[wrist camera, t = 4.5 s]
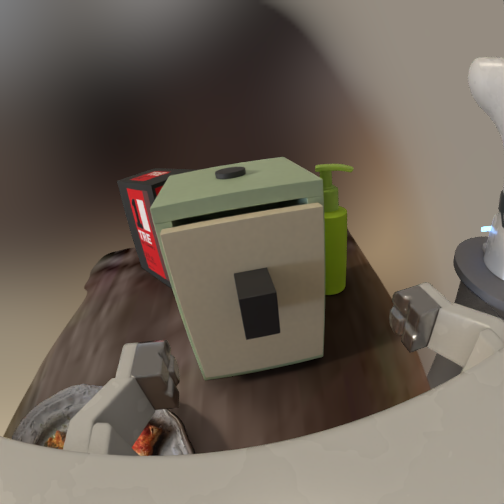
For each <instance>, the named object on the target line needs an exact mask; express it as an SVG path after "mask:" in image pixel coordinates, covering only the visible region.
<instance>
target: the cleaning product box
mask: <svg viewBox="0 0 504 504" xmlns="http://www.w3.org/2000/svg"><path fill="white" fill-rule="evenodd" d="M191 171H197V170H186V169H152V170H149V171H146V172H143V173H140V174H137V175H134V176H131V177H128V178H125V179H122V180H120V181H117V182H118V186H119V190H120V194H121V198H122V202H123V206H124V209H125V213H126V217H127V220H128V224H129V227H130V231H131V234H132V237H133V241H134V244H135V248H136V251H137V254H138V257H139V260H140V263H141V266H142V268H143V269H145V270H146V271H147V272H149V273H150V274H152V275H153V276H154V277H156V278H157V279H159V280H160V281H162V282H163V283H165V284H166V285H168V286H169V287H170V288H172V286H171V283H170V279H169V276H168V273H167V269H166V266H165V263H164V259H163V256H162V252H161V249H160V245H159V242H158V238H157V234H156V230H155V227H154V223H153V219H152V215H151V211H150V208H151V206H152V204H153V202H154V201H155V199H156V197H157V196H158V194H159V192H160V191H161V189H162V187H163V186H164V184H165V182H166V181H167V179H168V177H169V176H172V175H176V174H181V173H186V172H191Z"/></svg>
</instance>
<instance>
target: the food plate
mask: <svg viewBox="0 0 504 504" xmlns="http://www.w3.org/2000/svg"><path fill="white" fill-rule="evenodd" d="M102 388H103V387H102V386H94V385H92V386H90V385H87V384H82V385H76V386H72V387H69V388H67V389H65V390H62V391H60V392H58V393H57V394H55V395H53V396H51V397H50V398H48V399H46V400H44V401H43V402H41V403H40V404H38V405H37V406H35V407H34V408H33V409H32V411H30V412H29V413H28V414H27V416H26V417H25V418H24V419H23V420H22V421H21V423H20V424H19V426H18V428H16V430H15V432H14V435H13V436H12V439H13V440H16V441H21V442H25V443H29V444H34V445H39V446H44V447H50V448H55V449H62V450H63V447H64V443H65V439H66V434H67V431H68V427H69V423H70V420H71V419H72V418H73V417H74V416H75V415H76V414H77V413H78V412H79V411H80V410H81V409H82V408H83V407H84V406H85V405H86V404H87V403H88V402H89V401H90V400H91V399H92V398H93V397H94V396H95V395H96V394H97V393H98V392H99V391H100V390H101V389H102ZM155 411H156V412H155V413H154V415H153V416H152V418H151V419H150V421H149V422H148V424H147V425H146V427H145V428H144V430H143V431H142V433H141V434H140V436H139V437H138V439H137V440H136V442H135V443H134V445H133V446H132V449H133V450H134V451H135V452H136V453H137V454H138V455H140V456H168V455H188V454H195V452H194V449H193V447H192V445H191V444H190V443H191V442H190V441H189V439H188V436H187V433H186V431H185V427H184V425H183V423H182V421H181V420H180V419H179V417H178V416H176V415H175V414H174V413H172V412H169V411H170V410H168V409H162V410H155Z"/></svg>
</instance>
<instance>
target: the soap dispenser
mask: <svg viewBox="0 0 504 504" xmlns="http://www.w3.org/2000/svg"><path fill="white" fill-rule="evenodd" d="M337 170H338V171H347V172H352V171H353V167H351V166H348V165H343V164H323V165H316V167H315V172H320V178H321V179H323V194H324V195H323V196H324V220H325V295H334V294H337V293H340V292H341V291H343V290H344V288H345V283H346V257H347V210H346V209H345V208H343V207H340V206H339V204H338V188H337V187H336V186H334V185H332V173H331V171H337Z"/></svg>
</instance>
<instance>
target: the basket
mask: <svg viewBox="0 0 504 504" xmlns="http://www.w3.org/2000/svg"><path fill="white" fill-rule="evenodd" d="M160 237H161V241H162V244H163V248H164V252H165V255H166V259H167V262H168V266H169V269H170V273H171V276H172V279H173V283H174V286H175V289H176V292H177V296H178V299H179V302H180V305H181V308H182V311H183V314H184V317H185V320H186V323H187V326H188V329H189V332H190V335H191V338H192V341H193V344H194V346H195V349H196V352H197V355H198V357H199V360H200V363H201V366H202V368H203V371H204V374H205V376H206V378H208V377H215V376H222V375H228V374H234V373H240V372H245V371H251V370H256V369H261V368H266V367H271V366H276V365H280V364H285V363H289V362H294V361H298V360H302V359H306V358H310V357H314V356H318V355H322V353H323V329H324V222H323V206H322V205H321V204H320V203H318V202H317V203H310V204H304V205H297V206H291V207H284V208H278V209H272V210H266V211H259V212H254V213H248V214H242V215H236V216H230V217H225V218H219V219H214V220H208V221H203V222H197V223H192V224H187V225H182V226H176V227H171V228H166V229H162V230H161V233H160Z"/></svg>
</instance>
